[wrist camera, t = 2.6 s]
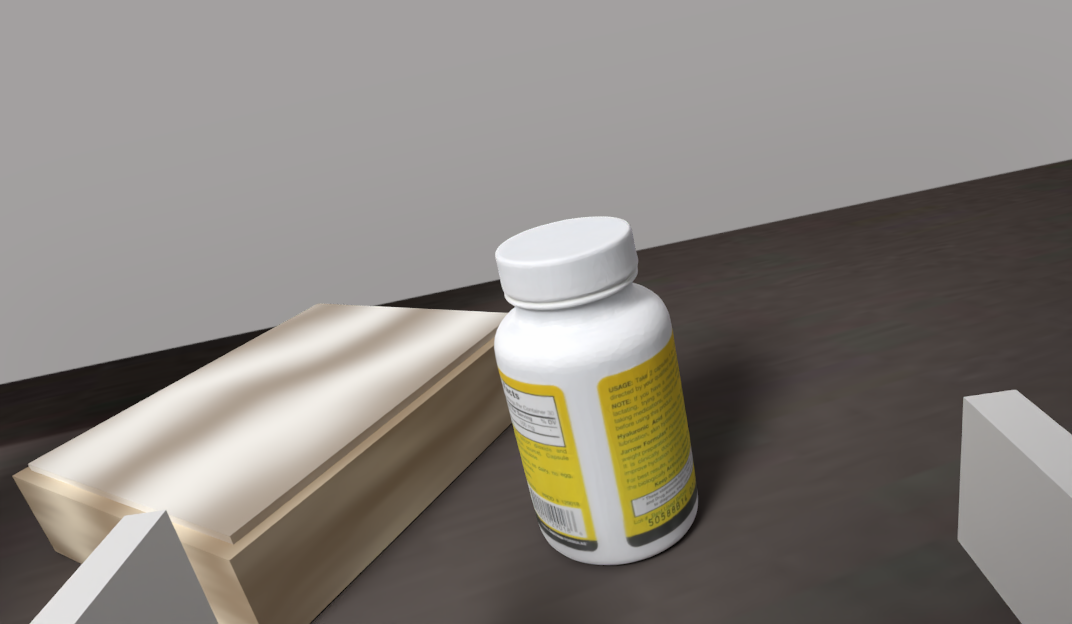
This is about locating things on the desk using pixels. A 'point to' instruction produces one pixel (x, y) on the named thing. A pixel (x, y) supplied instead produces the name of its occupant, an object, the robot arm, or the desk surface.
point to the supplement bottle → (594, 393)
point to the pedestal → (287, 453)
